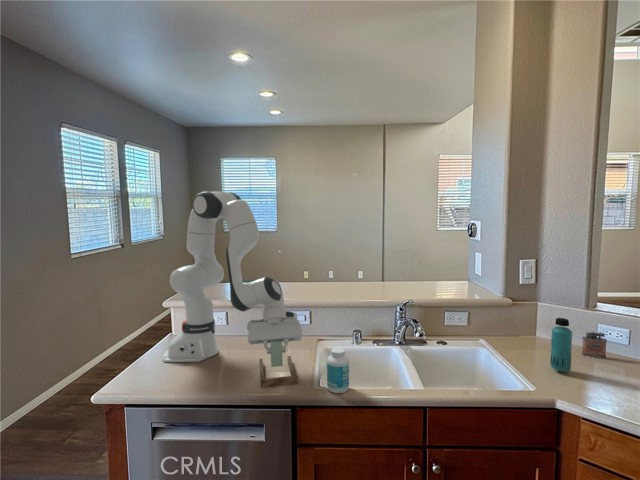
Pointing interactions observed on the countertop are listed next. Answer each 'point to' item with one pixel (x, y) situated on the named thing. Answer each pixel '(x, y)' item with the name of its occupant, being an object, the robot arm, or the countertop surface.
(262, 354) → the countertop surface
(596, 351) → the lighter
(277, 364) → the sage block
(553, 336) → the beverage bottle
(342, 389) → the pill bottle
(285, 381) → the walnut lane
